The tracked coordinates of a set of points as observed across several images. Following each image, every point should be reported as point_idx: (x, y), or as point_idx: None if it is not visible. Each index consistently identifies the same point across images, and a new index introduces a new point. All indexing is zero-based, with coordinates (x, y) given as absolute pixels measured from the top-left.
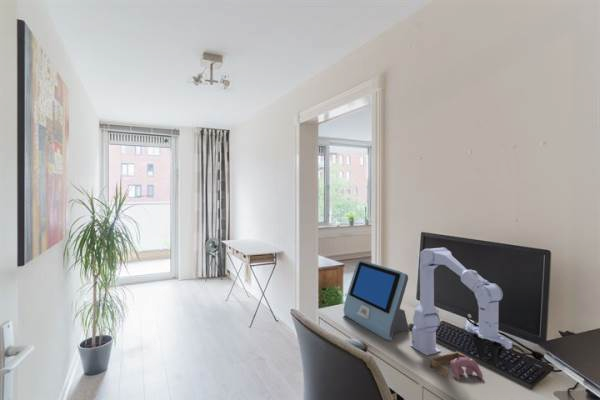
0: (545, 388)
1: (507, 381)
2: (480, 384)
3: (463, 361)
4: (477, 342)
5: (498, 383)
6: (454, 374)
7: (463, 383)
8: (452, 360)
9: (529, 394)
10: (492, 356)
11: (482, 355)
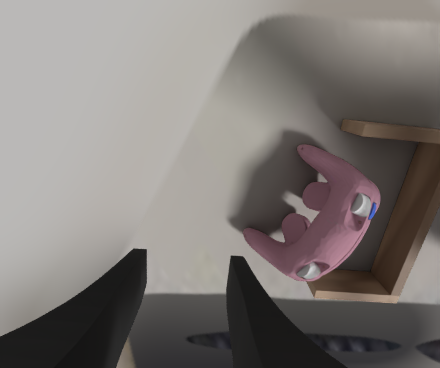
0: None
1: (190, 288)
2: (229, 195)
3: (327, 225)
4: (259, 351)
5: (198, 254)
6: (323, 150)
7: (272, 142)
8: (375, 198)
9: None
10: (110, 284)
11: (229, 284)
